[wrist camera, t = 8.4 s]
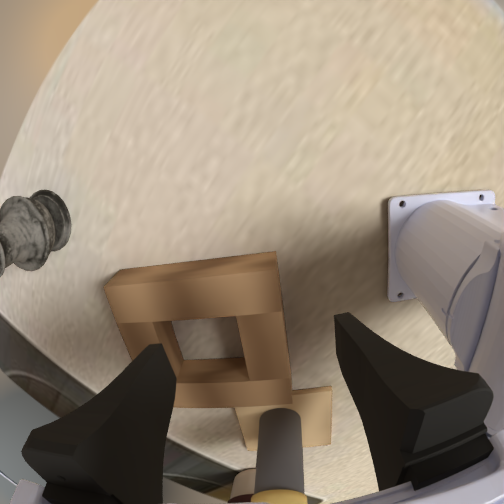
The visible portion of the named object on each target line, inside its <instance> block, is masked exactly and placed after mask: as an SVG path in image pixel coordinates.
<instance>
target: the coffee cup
mask: <svg viewBox="0 0 504 504" xmlns="http://www.w3.org/2000/svg"><path fill="white" fill-rule="evenodd" d="M255 475H256V469H248V470H245V471H242V472H240V473H239V474H237V475H236V476H235V479H234V482H233V487H232V492H231V497H230V500H229V501H228V503H245V502H251V498H252V496H253V495H254V488H255Z"/></svg>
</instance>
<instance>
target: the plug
mask: <svg viewBox="0 0 504 504" xmlns="http://www.w3.org/2000/svg"><path fill="white" fill-rule="evenodd" d="M251 502H266V503H271V504H307V497H306V495H305V494H304V472H303V449H302V429H301V417H300V415H299V414H298V413H297V412H296V411H294V410H291V409H287V408H275V409H271V410H268V411H266V412H264V413H263V414H262V415H261V416H260V419H259V434H258V448H257V462H256V475H255V488H254V495H253V496H252V498H251Z"/></svg>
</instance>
